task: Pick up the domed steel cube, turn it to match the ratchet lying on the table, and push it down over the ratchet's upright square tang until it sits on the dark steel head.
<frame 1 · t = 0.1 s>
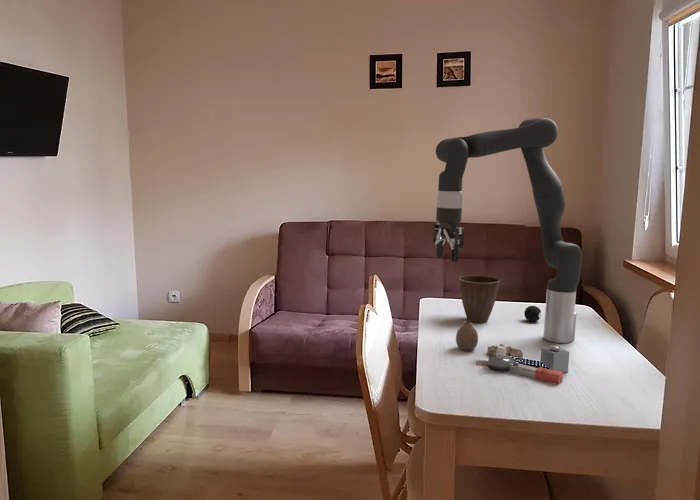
hand: (446, 259, 175), 29 cm above the table, tool pointing down, fingers open, 8 cm apart
vase: (466, 349, 182), on the table
mineral rock: (504, 357, 177), on the table
domed steel cube: (553, 369, 165), on the table
billiard ball: (532, 321, 218), on the table
ratchet: (500, 368, 166), on the table
plant pot: (476, 320, 217), on the table
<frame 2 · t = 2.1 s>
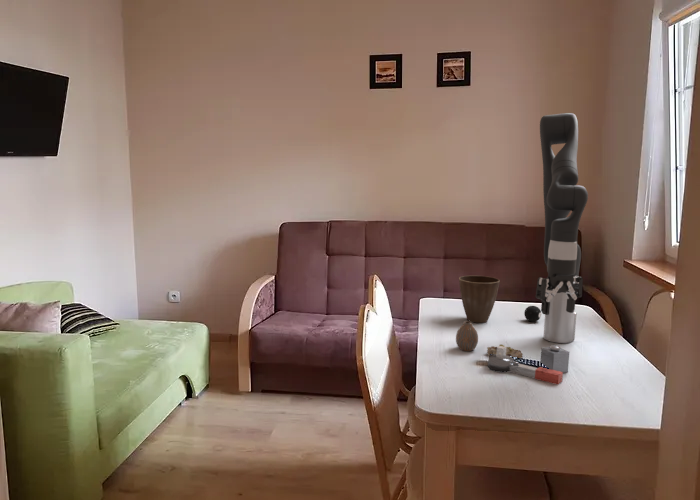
hand: (557, 313, 163), 17 cm above the table, tool pointing down, fingers open, 8 cm apart
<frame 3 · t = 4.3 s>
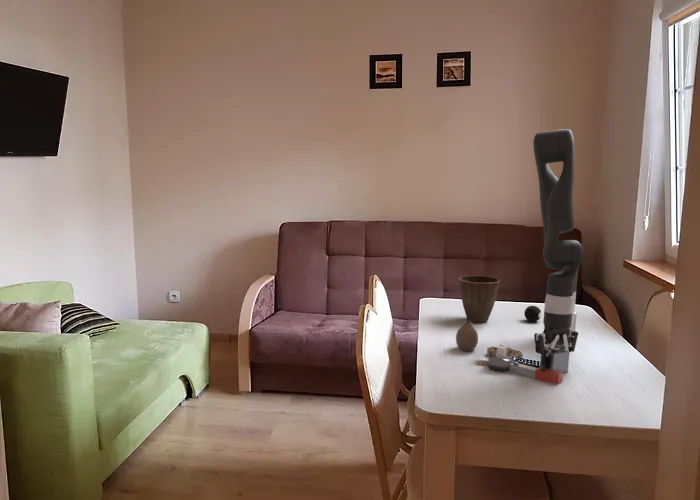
hand: (553, 367, 165), 1 cm above the table, tool pointing down, fingers closed on domed steel cube, 5 cm apart
domed steel cube: (553, 369, 165), on the table, touching gripper
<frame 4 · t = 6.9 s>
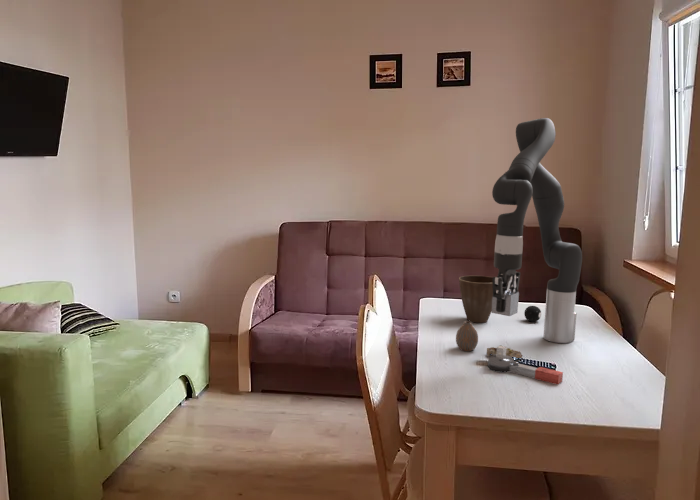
hand: (504, 309, 163), 17 cm above the table, tool pointing down, fingers closed on domed steel cube, 5 cm apart
domed steel cube: (504, 312, 163), point 16 cm above the table, touching gripper
when the fingers open (4 cm above the table, at t = 9.8 s): domed steel cube stays where it is, resting on ratchet.
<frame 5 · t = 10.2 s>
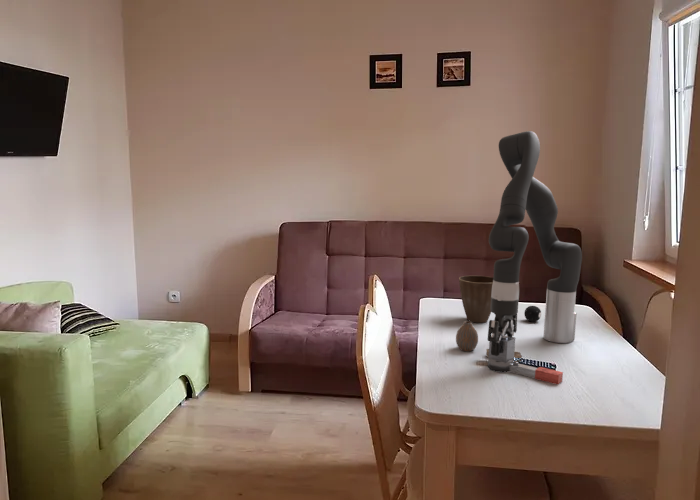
hand: (501, 351, 165), 5 cm above the table, tool pointing down, fingers open, 8 cm apart
domed steel cube: (501, 357, 165), point 3 cm above the table, touching ratchet
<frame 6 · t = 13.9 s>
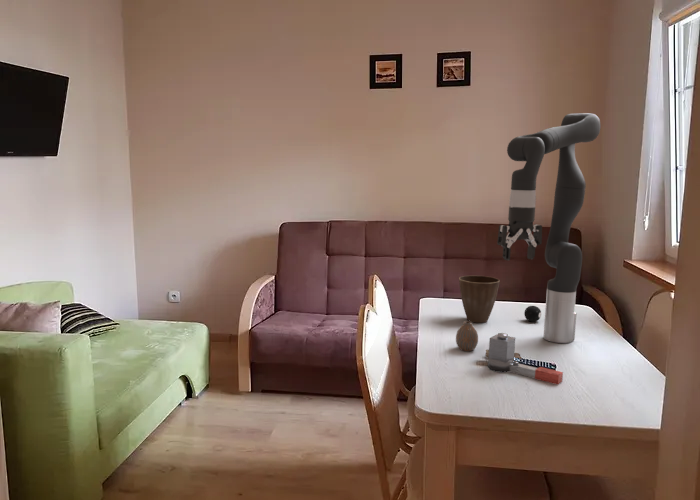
hand: (518, 259, 172), 30 cm above the table, tool pointing down, fingers open, 8 cm apart
at the end: domed steel cube 0.1 cm off-centre on the ratchet, point 3.0 cm above the ratchet's base; domed steel cube tilted 0°; the gripper is holding nothing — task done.
